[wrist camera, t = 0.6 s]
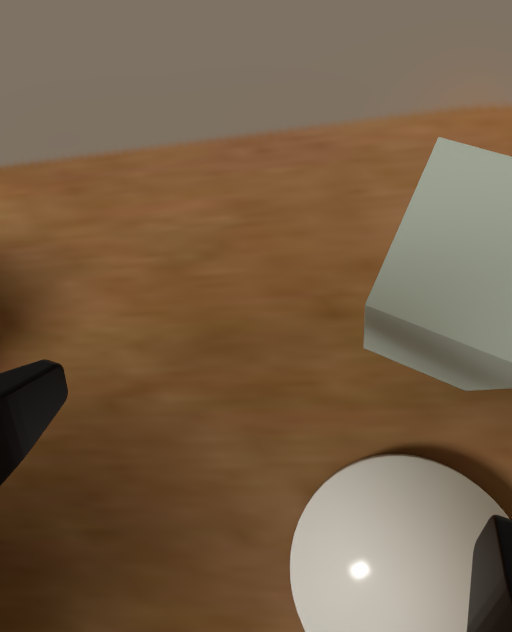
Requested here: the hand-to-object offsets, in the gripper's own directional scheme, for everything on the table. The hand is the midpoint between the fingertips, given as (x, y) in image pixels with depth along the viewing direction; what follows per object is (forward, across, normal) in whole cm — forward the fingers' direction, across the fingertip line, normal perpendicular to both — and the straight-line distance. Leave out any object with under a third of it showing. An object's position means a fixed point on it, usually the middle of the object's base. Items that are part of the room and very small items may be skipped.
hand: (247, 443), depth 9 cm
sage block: (+15, -4, +4) cm, 16 cm away
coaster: (+7, -6, +13) cm, 16 cm away
